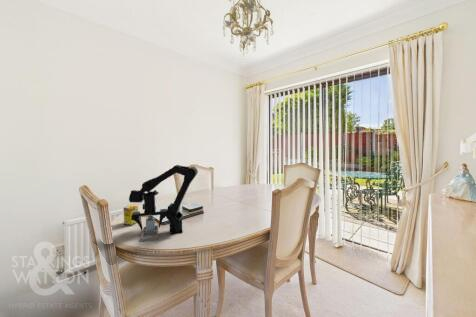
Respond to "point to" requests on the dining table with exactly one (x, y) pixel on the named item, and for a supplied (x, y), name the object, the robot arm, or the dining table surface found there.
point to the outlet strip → (149, 233)
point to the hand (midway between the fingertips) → (150, 228)
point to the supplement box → (129, 214)
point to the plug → (150, 224)
